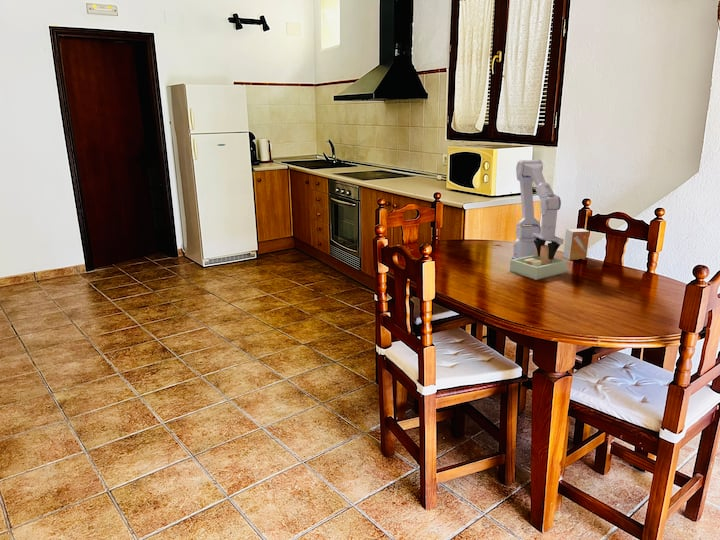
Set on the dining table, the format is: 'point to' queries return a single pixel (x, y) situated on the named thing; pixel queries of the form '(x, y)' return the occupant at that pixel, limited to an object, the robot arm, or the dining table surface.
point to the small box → (576, 244)
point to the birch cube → (533, 262)
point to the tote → (538, 268)
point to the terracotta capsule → (545, 255)
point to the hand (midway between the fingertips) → (545, 257)
